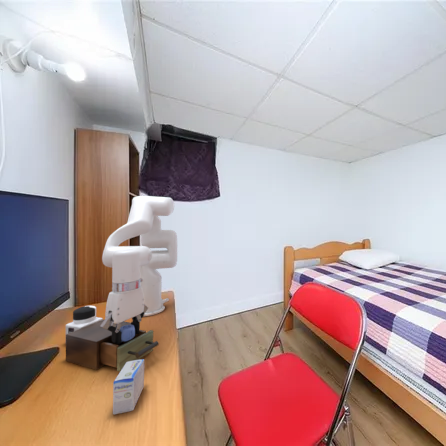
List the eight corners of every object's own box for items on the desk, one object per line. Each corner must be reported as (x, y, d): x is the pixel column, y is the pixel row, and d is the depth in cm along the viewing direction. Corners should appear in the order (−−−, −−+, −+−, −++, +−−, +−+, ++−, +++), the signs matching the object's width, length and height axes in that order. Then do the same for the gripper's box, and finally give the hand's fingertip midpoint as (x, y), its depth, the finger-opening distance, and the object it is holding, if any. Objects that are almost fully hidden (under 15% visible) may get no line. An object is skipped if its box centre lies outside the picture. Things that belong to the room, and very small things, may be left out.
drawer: (164, 352, 76) (164, 332, 76) (131, 375, 65) (132, 351, 65) (125, 343, 81) (125, 324, 81) (89, 363, 70) (89, 341, 70)
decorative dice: (120, 343, 71) (120, 331, 71) (117, 338, 73) (118, 327, 73) (134, 338, 74) (135, 327, 74) (132, 334, 76) (132, 323, 76)
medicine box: (125, 391, 60) (125, 361, 60) (144, 387, 62) (144, 358, 62) (112, 416, 53) (112, 381, 53) (134, 410, 54) (134, 377, 54)
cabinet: (135, 347, 81) (135, 323, 81) (96, 369, 69) (96, 341, 68) (107, 340, 85) (107, 318, 84) (65, 361, 72) (65, 334, 72)
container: (80, 347, 80) (80, 312, 80) (64, 344, 82) (65, 310, 81) (103, 336, 88) (103, 304, 87) (88, 333, 89) (88, 302, 89)
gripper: (142, 278, 82) (141, 324, 83) (88, 292, 66) (88, 350, 66) (157, 279, 80) (157, 327, 81) (106, 295, 64) (106, 355, 64)
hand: (126, 337), depth 74 cm, fingers closed on decorative dice, 5 cm apart
